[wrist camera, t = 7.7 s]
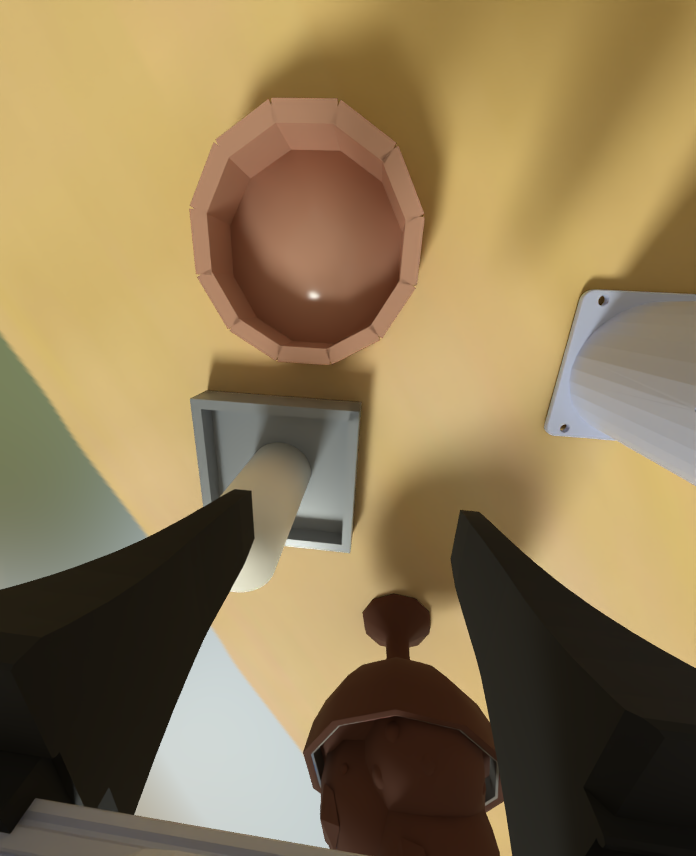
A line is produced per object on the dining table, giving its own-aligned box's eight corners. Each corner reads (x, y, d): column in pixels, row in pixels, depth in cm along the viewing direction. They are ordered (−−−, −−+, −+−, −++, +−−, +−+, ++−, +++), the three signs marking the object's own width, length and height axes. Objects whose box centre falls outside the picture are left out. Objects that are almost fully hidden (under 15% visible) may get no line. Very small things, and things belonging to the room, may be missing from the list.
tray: (361, 402, 20) (359, 411, 19) (352, 533, 24) (350, 553, 22) (206, 390, 21) (189, 398, 19) (220, 520, 25) (207, 537, 23)
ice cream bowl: (402, 542, 24) (432, 879, 10) (493, 632, 26) (625, 1012, 12) (302, 608, 27) (218, 932, 13) (391, 683, 29) (400, 1030, 15)
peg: (311, 445, 21) (275, 524, 13) (310, 499, 22) (276, 597, 15) (250, 439, 21) (180, 514, 14) (252, 492, 23) (190, 586, 15)
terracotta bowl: (428, 136, 16) (438, 99, 13) (403, 361, 19) (407, 370, 17) (212, 132, 16) (177, 96, 14) (229, 349, 20) (204, 356, 17)
